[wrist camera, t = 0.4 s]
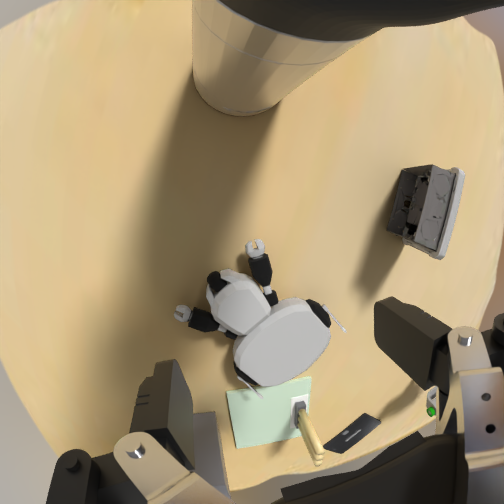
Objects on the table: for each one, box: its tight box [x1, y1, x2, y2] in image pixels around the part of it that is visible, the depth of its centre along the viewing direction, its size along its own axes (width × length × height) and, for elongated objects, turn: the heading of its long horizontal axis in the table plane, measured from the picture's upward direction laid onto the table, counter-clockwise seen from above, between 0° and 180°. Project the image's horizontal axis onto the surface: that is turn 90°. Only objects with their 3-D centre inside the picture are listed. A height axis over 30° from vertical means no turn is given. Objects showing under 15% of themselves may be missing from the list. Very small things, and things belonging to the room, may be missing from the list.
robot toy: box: [174, 239, 347, 399], centre depth 29 cm, size 12×4×15 cm
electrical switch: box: [386, 164, 465, 260], centre depth 26 cm, size 9×5×9 cm, turn 165°
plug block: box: [188, 412, 231, 500], centre depth 28 cm, size 6×5×12 cm
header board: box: [226, 376, 325, 466], centre depth 31 cm, size 13×11×10 cm
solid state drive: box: [323, 413, 381, 454], centre depth 41 cm, size 7×10×1 cm
